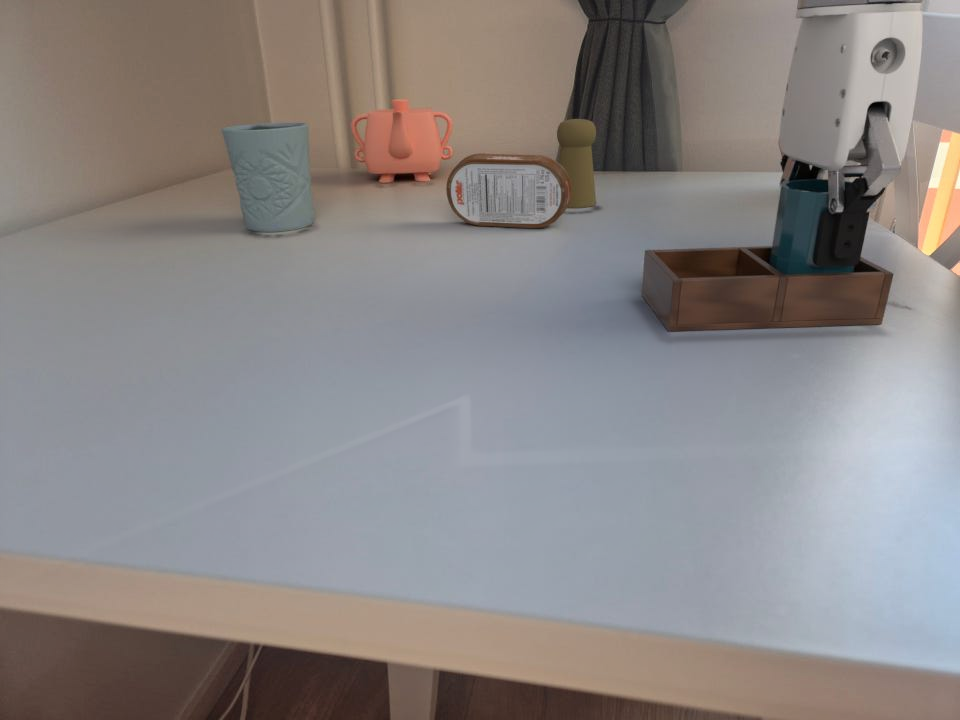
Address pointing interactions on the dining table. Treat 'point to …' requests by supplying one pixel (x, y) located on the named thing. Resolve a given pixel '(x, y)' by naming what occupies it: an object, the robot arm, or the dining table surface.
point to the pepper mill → (578, 160)
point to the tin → (508, 190)
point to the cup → (800, 227)
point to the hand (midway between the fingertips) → (813, 250)
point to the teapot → (402, 141)
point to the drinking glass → (272, 174)
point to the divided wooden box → (757, 291)
